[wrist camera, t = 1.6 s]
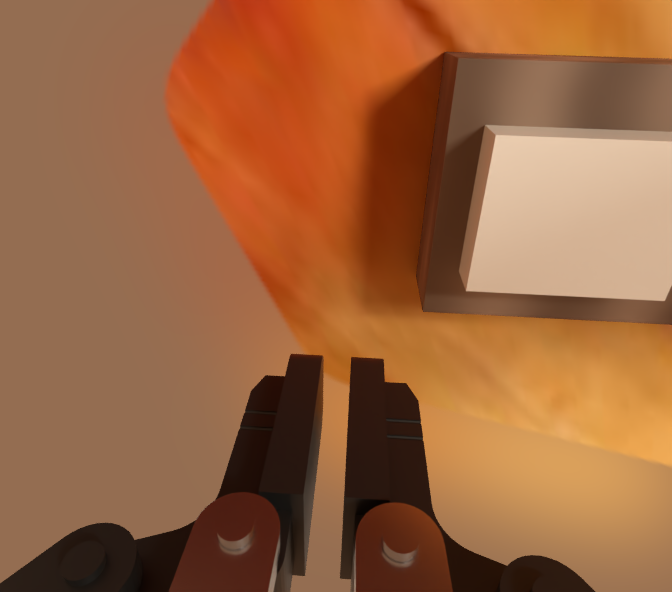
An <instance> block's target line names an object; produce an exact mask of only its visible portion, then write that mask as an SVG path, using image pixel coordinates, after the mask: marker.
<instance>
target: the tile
mask: <svg viewBox="0 0 672 592" xmlns="http://www.w3.org/2000/svg"><path fill="white" fill-rule="evenodd" d="M459 273H460V276H461V279H462V281H463V284H464V287H465V290H466V291H475V292H494V293H514V294H534V295H554V296H574V297H594V298H614V299H634V300H654V301H665V299H666V297H667V295H668V292H669V290H670V288H671V286H672V132H663V131H635V130H608V129H581V128H553V127H526V126H499V125H485V127H484V133H483V138H482V144H481V150H480V155H479V161H478V166H477V172H476V178H475V183H474V189H473V194H472V200H471V206H470V211H469V217H468V222H467V228H466V234H465V239H464V245H463V251H462V256H461V262H460V267H459Z"/></svg>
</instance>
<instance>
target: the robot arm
mask: <svg viewBox="0 0 672 592" xmlns="http://www.w3.org/2000/svg"><path fill="white" fill-rule="evenodd" d="M322 414H323V356H321V355H303V354H291V355H290V359H289V362H288V367H287V371H286V375H285V377H284V376H268V375H267V376H265V377H264V378H263V379H262V380H261V381H260V382H259V383H258V384H257V385H256V386H255V387H254V389H253V390H252V391H251V393H250V397H249V400H248V403H247V406H246V410H245V413H244V416H243V419H242V422H241V425H240V429H239V431H238V435H237V438H236V441H235V444H234V448H233V451H232V454H231V457H230V460H229V463H228V467H227V470H226V473H225V476H224V479H223V482H222V486H221V489H220V491H219V494H218V496H217V498H216V500H215V501H213V502H212V503H210V504H209V505H208V506H207V507H206V508H205V509H204V510H203V511H202V512H201V513H200V515H199V516H198V518H197V519H196V520H195V521H194V522H192V523H190V524H189V525H187V526H184V527H182V528H180V529H177V530H174V531H170V532H166V533H162V534H158V535H154V536H150V537H145V538H142V539H137V540H134V538H133V537H132V535H131V534H130V532H129V531H127V530H126V529H125V528H123V527H121V526H120V525H116V524H113V523H97V524H92V525H88V526H85V527H83V528H80V529H78V530H76V531H74V532H72V533H70V534H69V535H67V536H66V537H64V538H63V539H61V540H60V541H58V542H57V543H56V544H54V545H53V546H52V547H50V548H49V549H48V550H46V551H45V552H43V553H42V554H41V555H39V556H38V557H36V558H35V559H34V560H33V561H31V562H30V563H28V564H27V565H25V566H24V567H23V568H21V569H20V570H18V571H17V572H16V573H14V574H13V575H11V576H10V577H9V578H7V579H6V580H4V581H3V582H2V583H0V592H290V588H291V581H292V575H299V576H305V570H306V561H307V552H308V544H309V535H310V525H311V518H312V509H313V499H314V491H315V482H316V473H317V465H318V455H319V447H320V439H321V429H322ZM420 423H421V419H420V411H419V403H418V400H417V398H416V397H415V395H414V394H413V392H412V391H411V389H410V388H409V387H408V385H407V384H406V383H390V382H385V379H384V360H383V359H375V358H358V357H351V374H350V393H349V413H348V432H347V452H346V472H345V492H344V511H343V531H342V551H341V571H340V578H342V579H351V592H595V591H594V590H593V589H592V588H591V587H590V586H589V585H588V584H587V583H586V582H585V581H584V580H583V579H582V578H581V577H580V576H578V575H577V574H576V573H575V572H574V571H572V570H571V569H570V568H568V567H567V566H565V565H563V564H562V563H560V562H558V561H555V560H553V559H550V558H547V557H543V556H533V555H530V556H524V557H520V558H517V559H516V560H514V561H512V562H511V563H510V564H509V565H508V566H506V565H504V564H501V563H499V562H496V561H494V560H491V559H489V558H486V557H484V556H481V555H479V554H476V553H474V552H472V551H469V550H467V549H465V548H464V547H462V546H461V545H459V544H458V543H456V542H455V541H454V540H453V539H451V538H450V537H449V536H448V534H446V532H445V531H444V530H443V529H442V527H441V526H440V524H439V523H438V521H437V519H436V517H435V514H434V512H433V508H432V504H431V495H430V488H429V480H428V472H427V465H426V457H425V449H424V442H423V434H422V426H421V424H420Z"/></svg>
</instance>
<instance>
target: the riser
mask: <svg viewBox="0 0 672 592" xmlns="http://www.w3.org/2000/svg"><path fill="white" fill-rule="evenodd" d="M485 125H499V126H526V127H553V128H581V129H608V130H635V131H663V132H672V59H658V58H626V57H593V56H560V55H528V54H495V53H462V52H444V60H443V68H442V76H441V84H440V92H439V100H438V108H437V115H436V123H435V131H434V139H433V147H432V155H431V163H430V171H429V179H428V187H427V194H426V202H425V210H424V218H423V226H422V234H421V242H420V250H419V258H418V265H417V273H416V278H417V283H418V288H419V294H420V299H421V305H422V310H423V312H440V313H459V314H478V315H498V316H517V317H536V318H555V319H574V320H594V321H613V322H632V323H651V324H670V325H672V286H671V288H670V290H669V292H668V295H667V297H666V299H665V301H654V300H634V299H614V298H594V297H574V296H554V295H534V294H514V293H494V292H475V291H466V290H465V287H464V284H463V281H462V279H461V276H460V273H459V267H460V262H461V256H462V251H463V245H464V239H465V234H466V228H467V222H468V217H469V211H470V206H471V200H472V194H473V189H474V183H475V178H476V172H477V166H478V161H479V155H480V150H481V144H482V138H483V133H484V127H485Z"/></svg>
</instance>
